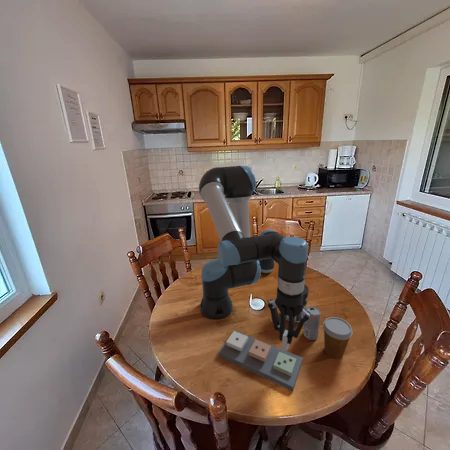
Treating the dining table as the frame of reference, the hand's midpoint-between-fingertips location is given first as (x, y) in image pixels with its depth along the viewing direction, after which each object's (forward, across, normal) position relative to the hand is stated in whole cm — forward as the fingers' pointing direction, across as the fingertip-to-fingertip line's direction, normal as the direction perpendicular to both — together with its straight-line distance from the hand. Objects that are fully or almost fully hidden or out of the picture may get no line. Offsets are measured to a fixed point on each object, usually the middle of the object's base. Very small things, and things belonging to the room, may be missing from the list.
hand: (285, 348), depth 78 cm
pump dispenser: (+11, -29, +58) cm, 66 cm away
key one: (+8, -17, 0) cm, 19 cm away
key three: (+8, +1, 0) cm, 8 cm away
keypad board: (+9, -8, 0) cm, 12 cm away
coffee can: (+10, -4, +28) cm, 30 cm away
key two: (+8, -8, 0) cm, 11 cm away
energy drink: (+9, +5, +20) cm, 22 cm away
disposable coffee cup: (+9, +14, +16) cm, 23 cm away
